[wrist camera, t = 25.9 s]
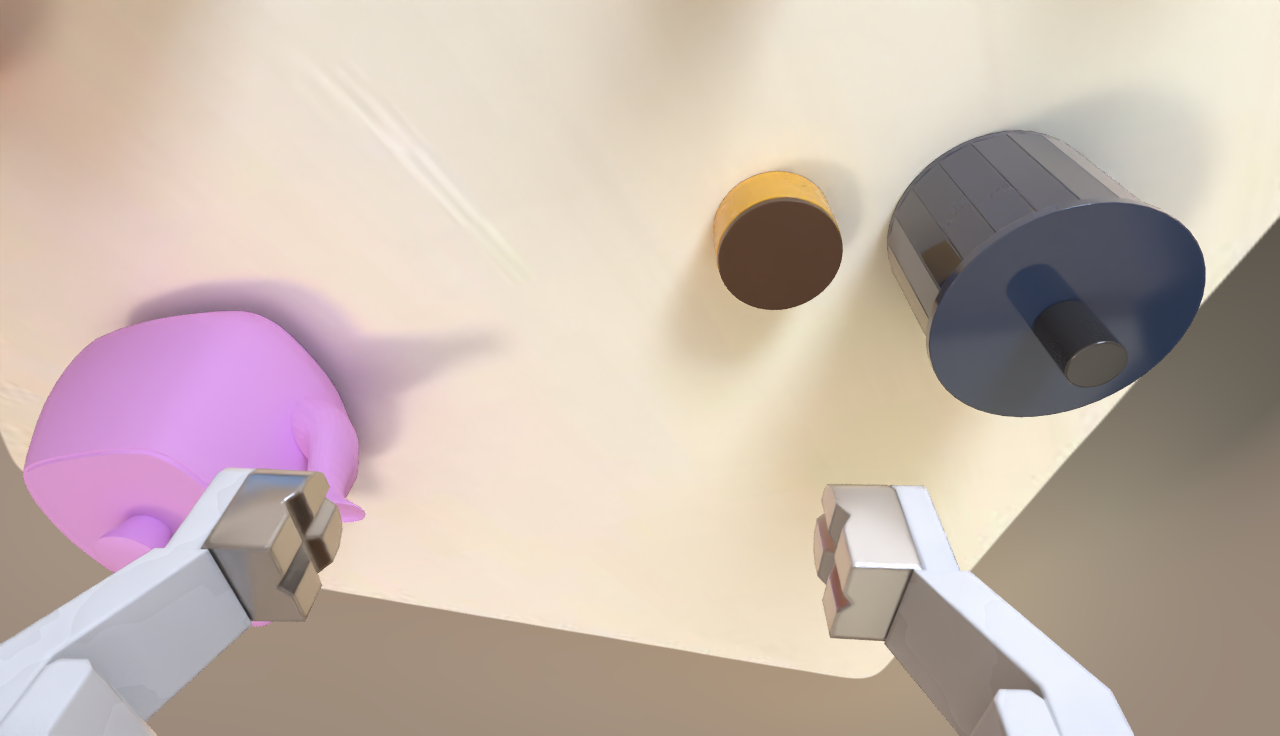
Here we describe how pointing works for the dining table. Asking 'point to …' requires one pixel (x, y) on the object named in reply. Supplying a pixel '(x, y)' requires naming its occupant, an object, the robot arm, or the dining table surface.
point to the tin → (776, 241)
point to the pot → (981, 203)
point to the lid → (1065, 307)
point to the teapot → (180, 428)
